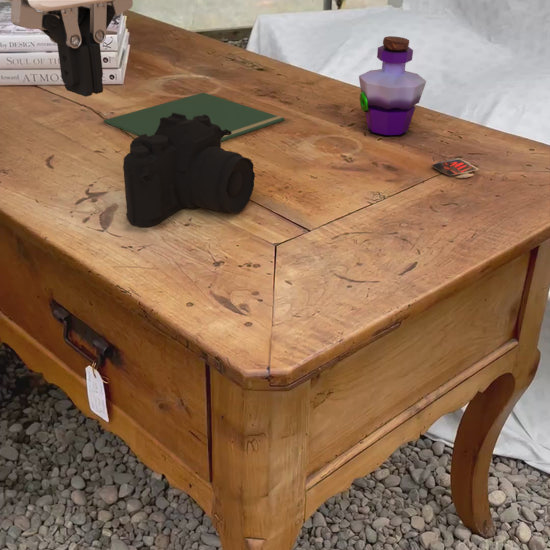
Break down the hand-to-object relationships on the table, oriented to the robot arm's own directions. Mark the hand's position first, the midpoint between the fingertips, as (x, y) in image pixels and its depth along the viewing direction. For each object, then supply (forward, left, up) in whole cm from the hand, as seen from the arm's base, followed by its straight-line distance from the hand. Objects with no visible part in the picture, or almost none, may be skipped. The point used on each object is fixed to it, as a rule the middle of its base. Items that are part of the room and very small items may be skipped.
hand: (84, 91), depth 65 cm
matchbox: (+41, -14, -15) cm, 45 cm away
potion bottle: (+47, 0, -15) cm, 49 cm away
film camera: (+13, 0, -15) cm, 20 cm away
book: (+31, +20, -15) cm, 40 cm away
